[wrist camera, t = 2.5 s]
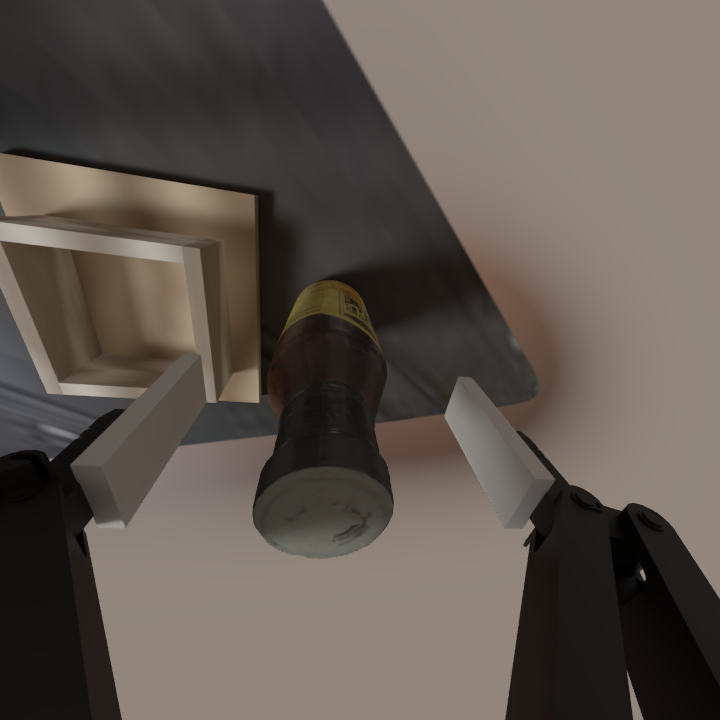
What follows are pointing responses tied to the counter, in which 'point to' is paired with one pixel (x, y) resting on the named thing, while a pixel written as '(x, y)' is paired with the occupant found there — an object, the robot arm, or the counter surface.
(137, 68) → the counter surface
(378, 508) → the sauce bottle
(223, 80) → the counter surface
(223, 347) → the caddy board
